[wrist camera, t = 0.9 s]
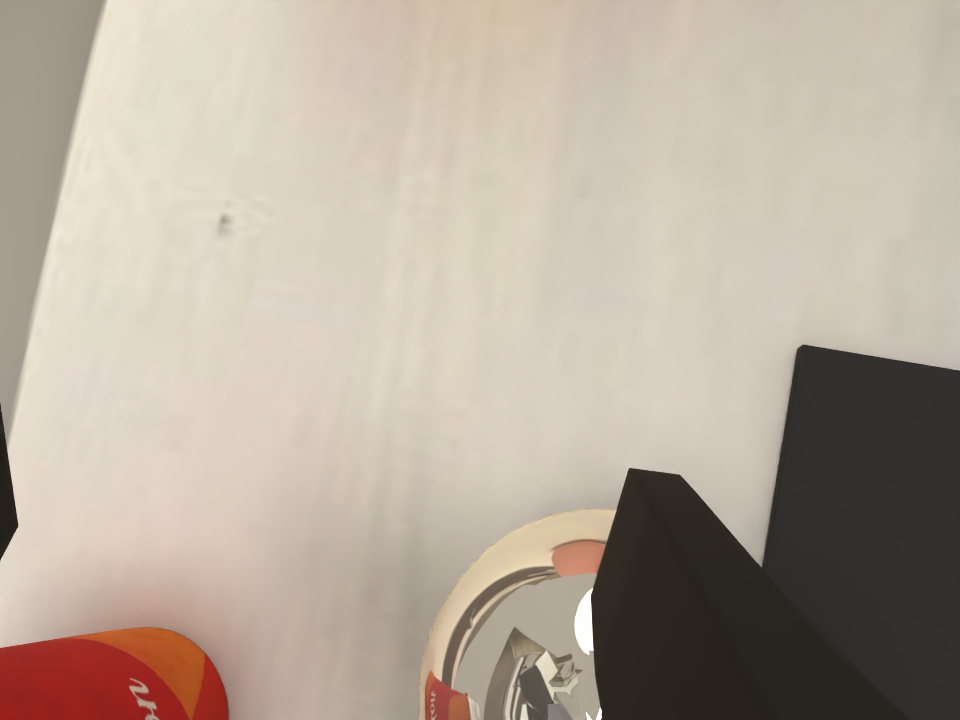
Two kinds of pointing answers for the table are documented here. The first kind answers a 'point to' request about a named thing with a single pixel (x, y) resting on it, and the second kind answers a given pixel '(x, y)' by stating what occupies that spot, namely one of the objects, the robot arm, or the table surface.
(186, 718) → the paper cup
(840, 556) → the mat
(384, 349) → the table surface
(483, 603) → the light bulb
